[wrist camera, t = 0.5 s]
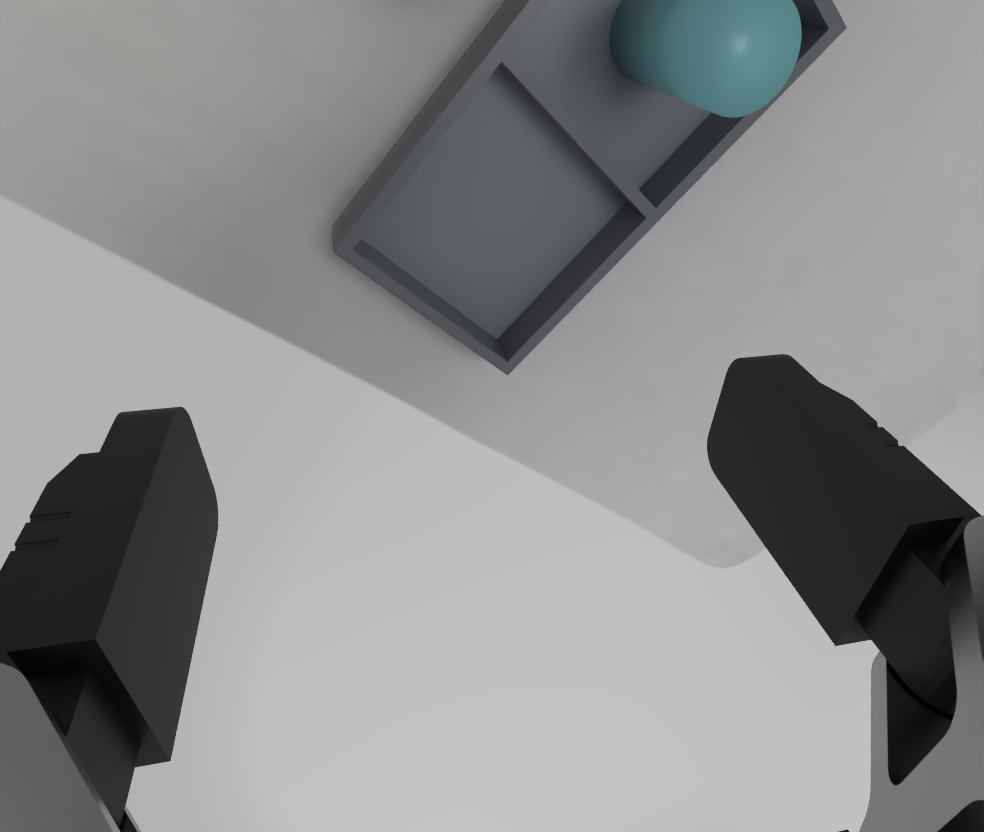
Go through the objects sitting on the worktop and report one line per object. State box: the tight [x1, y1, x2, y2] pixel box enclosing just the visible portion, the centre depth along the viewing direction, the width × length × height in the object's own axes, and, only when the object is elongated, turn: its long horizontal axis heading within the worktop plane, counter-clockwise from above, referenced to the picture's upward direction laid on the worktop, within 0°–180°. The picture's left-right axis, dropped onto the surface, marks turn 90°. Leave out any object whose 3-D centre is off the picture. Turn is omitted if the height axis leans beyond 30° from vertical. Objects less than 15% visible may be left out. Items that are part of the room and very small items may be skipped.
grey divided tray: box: [333, 0, 846, 375], centre depth 29 cm, size 22×11×4 cm, turn 137°
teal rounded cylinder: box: [610, 0, 802, 117], centre depth 25 cm, size 4×4×8 cm
